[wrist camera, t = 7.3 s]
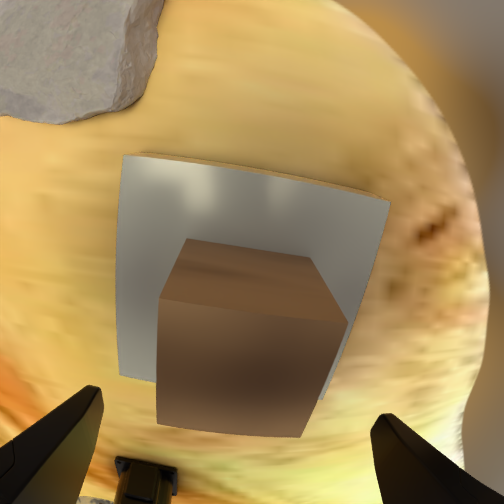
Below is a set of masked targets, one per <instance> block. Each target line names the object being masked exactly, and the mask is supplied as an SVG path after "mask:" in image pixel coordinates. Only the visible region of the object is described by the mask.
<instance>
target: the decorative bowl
mask: <svg viewBox="0 0 504 504" xmlns="http://www.w3.org/2000/svg"><path fill="white" fill-rule="evenodd" d="M99 503H102V504H113V503H114V502H112V501H108V500H104V499H100V498H95V497H88V496H80V497H78V500H77V503H76V504H99Z"/></svg>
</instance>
